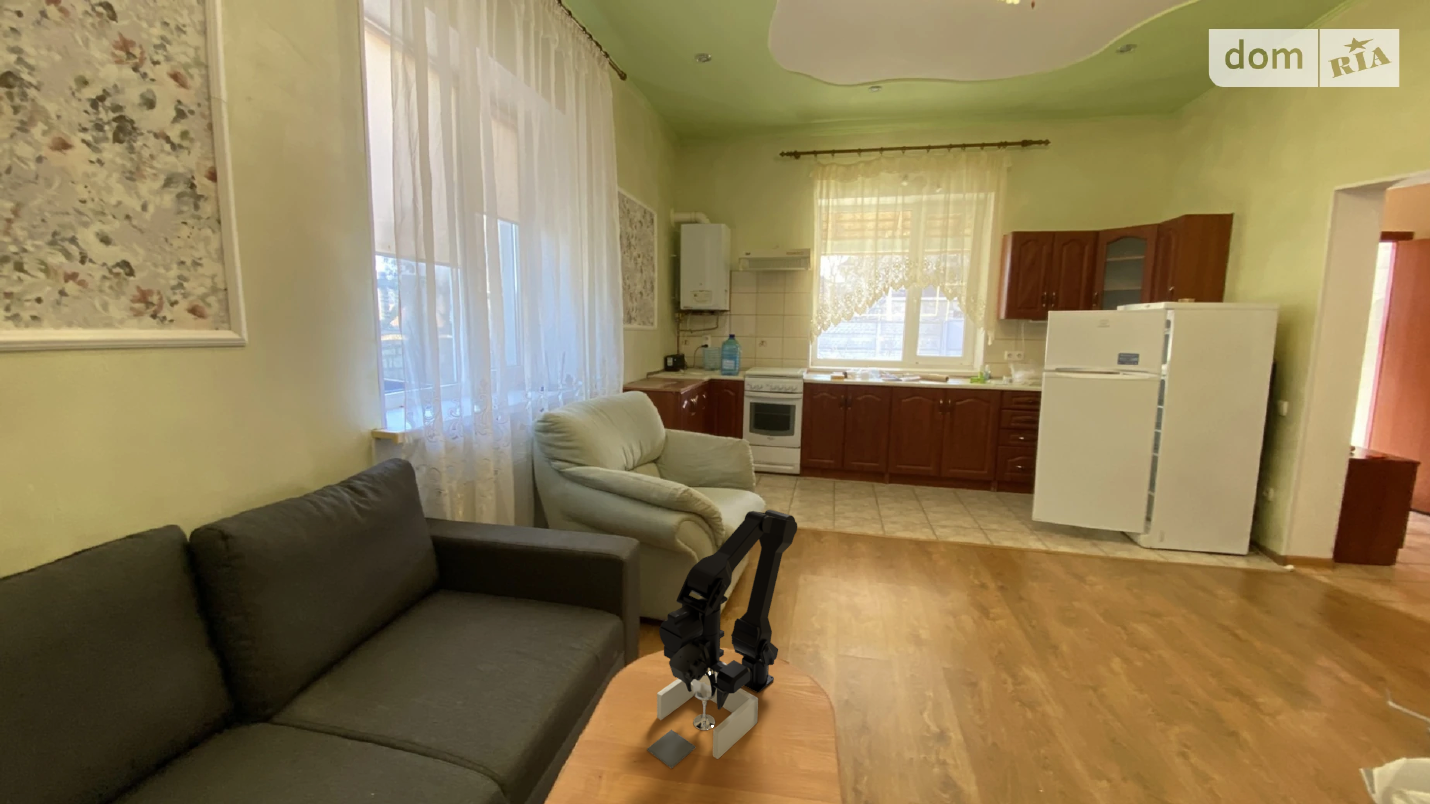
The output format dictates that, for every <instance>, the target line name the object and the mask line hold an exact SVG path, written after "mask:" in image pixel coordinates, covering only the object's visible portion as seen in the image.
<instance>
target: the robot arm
mask: <svg viewBox="0 0 1430 804" xmlns="http://www.w3.org/2000/svg"><path fill="white" fill-rule="evenodd" d="M797 531H798V522H797V521H796V518H795V517H794V515H792V514H788V513H784V512H779V511H777V510H773V509H767V510H766V511H764V512H762V511H754V510H752V511H751V510H749V511H748V512H746V515H745V516H744V520H743V521H742V522H741V523H740V524H739V525H738V526H737V528H736V529H735V530H734V531H733V532H732V533H731V534H730V536H729V537H728V538H727V539H726V541H724V542H723V544H722V545H721V546H720V547H719V548H718V549H717V550H716V551H715V553H713V554H710V555H708V556H705V557H702V558H701V559H699V561H698V562H697V563H696V564H694V565H693V566H692V567H691V568H690V570H689V571H688V573H687V575H686V578H685V579H684V582H683V585H682V587H681V589H680V591H679V593H678V596H677V598H676V603H678V604H680V605H681V607H679V608H678V609H676V610H674V611H670V612H669V613H668V614H667V616H666V619H665V620H664V621H662V622H661V624H660V626H659V629H658V630H659V634H658V635H659V638H660V640H661V643H662V644H663V656H664V657H665V658H668V659H669V661H668V665H669V667H670V672H671V673H672V676H673V677H674V678H676V679H680V680H682V681H683V682H684V683H685V684H686V687H687V689H688V691H689V692H691V691H692V690H691V682H692V681H693V680H694V679H696V680H697V681H699V680H700V679H701V678H702V677H703V676H704V674H705V673H706V671H707V669H708V668H710V669H712V670H713V671H715V672H717V673H718V675H717V677H716V683H715V684H714V685H713V686H714V687H715V688H716V689H717V703H716V707H717V710H718V711H720V710H721V709H722V708H723V705H724V703H725V701H726V699H727V697H728V695H729V693H735V692H736V691H737V690H739V689H740V688H741V689H742V688H743V687H746V688H747V689H749V690H751V691H753V692H755V693H757V694H759V693H760V692H762V691H763V690H764V689H765V688H766V687H768V686H769V685H770V684H771V683H772V682H773V681H774V680H775V678H774V676H772V675H770V674H769V671H770V670H769V666H773V665H775V661H776V659H777V657H778V653H779V648H778V647H777V646H775V644H773V643H772V642H771V641H772V635H773V630H772V627H771V624H770V619H769V614H770V609H771V605H772V601H773V597H774V593H775V588H776V583H777V579H778V575H779V570H780V566H781V561H782V557H783V553H785V552H786V550H788V549H789V548H790V547H791V546H792V544H793V543H794V542H793V541H794V538H795V536H796V534H797ZM758 541H759V543H760V553H759V557H758V561H757V567H756V570H755V574H754V578H753V582H752V588H751V591H750V595H749V598H748V599H749V600H748V604H747V609H746V612H745V613H743V615H742V616H741V617H740V618H736V619H735V621H734V625H733V630H732V632H731V634H730V635H731V644H732V646H733V649H734V654H735V653H736V654H738V655H741V656H742V658H741V662H739V661H737V660H734V659H732V660H731V661H730V662H728V663H726V662H724V661H722V660H720V658H722V657H723V656H724V655H725V650H724V649H723V648H721V639H722V638H723V637H725V631H724V630H722V629H721V617H722V616H721V611H722V610H721V608H722V607H721V606H722V604H724V603H726V602H728V600H729V599H728V597H727V596H725V594H726V592H727V590H728V589H729V587H730V586H731V584H732V577H733V573H734V571H735V569H736V568H737V566H738V565H739V564H740V563H741V562H742V560H743V559H744V558H745V557H746V556H747V554H748V553H749V552H750V551H751V550H752V548H753V547H754V545H756V543H757V542H758ZM691 593H692V594H695V595H696V596H699V598H697V597H694V596H692V595H690V594H691Z"/></svg>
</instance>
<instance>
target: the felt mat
mask: <svg viewBox="0 0 1430 804" xmlns="http://www.w3.org/2000/svg"><path fill="white" fill-rule="evenodd" d="M695 749H696V745H694V744H693V743H691V741H688V740H687V739H686V738H685V737H683V736H681V735H680V734H679V733H677V732H676V731H674V730H673V729H670V730H669V731H668V732H665V734H664V735H662V736H661V737H660V738H658V739H657V740H656V741H655V742H653V743H652V744H651V745H649V746H648V747H647V748H646V751H648V753H650V754H652V755H653V756H654V757H655V758H656V759H658V760H660V761H661V762H662V763H663V764H664V765H666V766H667V767H669V768H670V769H673V768H674V767H675V766H677V764H678V763H680V762H681V761H683V759H684V758H686V757H687V756H688V755H690V753H691V752H693V751H694V750H695Z"/></svg>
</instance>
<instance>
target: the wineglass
mask: <svg viewBox="0 0 1430 804" xmlns="http://www.w3.org/2000/svg"><path fill="white" fill-rule="evenodd" d="M717 675H718V673H717V672H715V671H713V670H712V669H710V668H708V669H707V671H706V673H705V674H704V676H703V677H702V678H701V679H700V680H699V681H697V680H696V679H694V680H693V681H692V682H691V690H692V693H693V695H694V696H693V697H695V698H697V700H700V701H701V703H702V709H703V710H702V711H703V712H702V714H698V715H696V716H695V717H694V719H693V725H694V727H695V728H696V729H698V730H700V731H708V730H711V729H712V728H713V729H714V728H715V725H716V720H715V718H714V716H712V715H711V714H706V711H707V710H706V708H707V704H708V701H711V700H710V699H712V698H714V697H715V696H716V694H717V689H716V688H715V687H714V686H713V685H714V684H715V683H716V677H717Z"/></svg>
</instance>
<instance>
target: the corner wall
mask: <svg viewBox="0 0 1430 804" xmlns="http://www.w3.org/2000/svg"><path fill="white" fill-rule="evenodd" d="M693 697H695V696H694V695H693V693H692V691H691V692H689V691H688V689H687V687H686V684H685V683H684V682H683V681H682V680H680V679H678V678H676V679H675V680H674V681H671V683H670V684H668V685H666V686H665V687H664V688H662V689H661V690H660V691H658V692H657V693H656V718H657V719H659V720H660V721H662V720H663V719H665V718H666V717H668V715H670V714H671V713H672V712H674V711H675V710H677V709H679V707H681V706H682V705H684V704H685V703H686V702H687V701H689V700H690V699H691V698H693ZM709 701H712V702H714V703H715V704H717V694H716V696H715V697H714V698H712V699H710V700H709ZM758 706H759V698H758V697H757V696H755V695H754V694H751V693H750V692H748V691H746V690H744V689H743V688H742V687H741V688H740V689H739V690H737V691H736V692H735V693H729V695H728V697H727V699H726V701H725V703H724V705H723V707H722V708H724V709H725V710H726V711H728V712H730V713H731V714H730V715H728V716H727V717H726V718H725V719H724V720H723V721H722V722H720V723H719V724H718V725H717V726H716V727H714V728H713V730H712V731H713V733H712V736H713V737H712V756H713V757H714V758H715V759H717V760H718V759H720V758H721V756H723V755H724V754H725V753H726V752H727V751H729V750H730V749H731V748H732V747H733V746H734V745H735V744H736V743H737V742H738V741H739V740H741V738H743V736H744V735H745V734H747V733H748V732H749V731H750V730H751V729H752V728H753V727H755V725H757V723H758V715H759V714H758V712H759V711H758V710H759V707H758Z"/></svg>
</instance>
